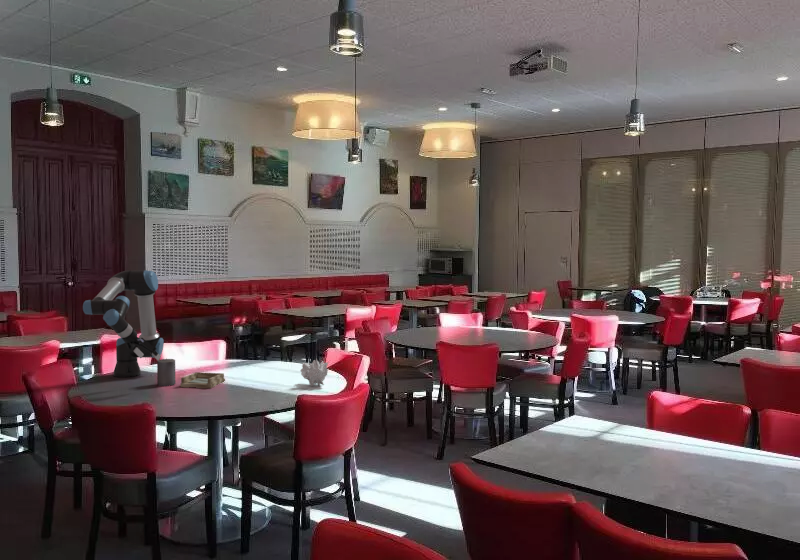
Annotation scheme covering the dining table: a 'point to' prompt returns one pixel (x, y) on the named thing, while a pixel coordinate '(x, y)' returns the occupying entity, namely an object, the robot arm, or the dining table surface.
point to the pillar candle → (166, 372)
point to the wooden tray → (202, 380)
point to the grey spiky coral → (314, 372)
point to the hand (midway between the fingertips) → (150, 357)
